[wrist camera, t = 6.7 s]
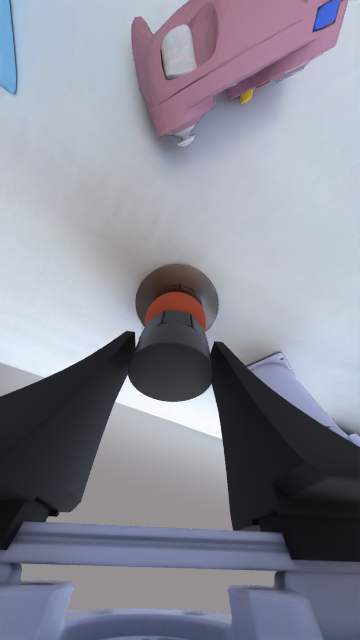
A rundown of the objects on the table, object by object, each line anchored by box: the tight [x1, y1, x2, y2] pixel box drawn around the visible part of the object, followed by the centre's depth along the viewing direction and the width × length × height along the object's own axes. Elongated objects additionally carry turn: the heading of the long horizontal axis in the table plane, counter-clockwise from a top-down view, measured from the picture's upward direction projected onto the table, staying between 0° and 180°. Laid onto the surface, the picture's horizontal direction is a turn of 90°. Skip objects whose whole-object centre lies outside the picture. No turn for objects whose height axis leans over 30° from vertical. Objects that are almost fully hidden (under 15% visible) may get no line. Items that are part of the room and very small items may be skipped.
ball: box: [145, 292, 206, 331], centre depth 13 cm, size 6×6×6 cm
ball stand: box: [136, 264, 219, 332], centre depth 16 cm, size 10×10×2 cm
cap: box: [128, 310, 214, 402], centre depth 9 cm, size 5×5×4 cm
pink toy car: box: [131, 0, 348, 147], centre depth 7 cm, size 10×5×7 cm, turn 108°
